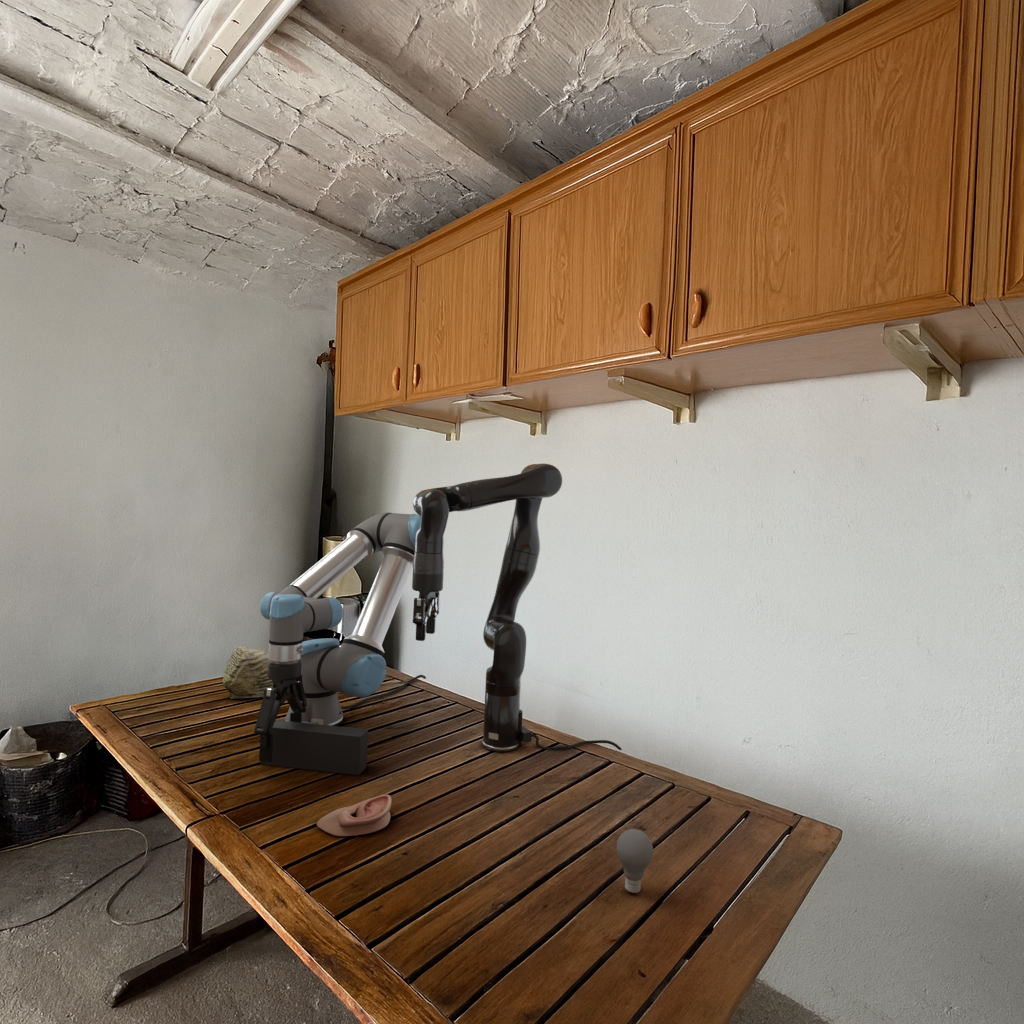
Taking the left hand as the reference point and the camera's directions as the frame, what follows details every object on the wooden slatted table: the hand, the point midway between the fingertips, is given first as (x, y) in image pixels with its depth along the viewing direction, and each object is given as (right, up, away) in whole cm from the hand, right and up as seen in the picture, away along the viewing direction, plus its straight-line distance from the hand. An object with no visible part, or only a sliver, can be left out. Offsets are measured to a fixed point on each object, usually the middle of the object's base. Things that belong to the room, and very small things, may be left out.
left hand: (280, 750), depth 150 cm
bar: (+8, -3, -1) cm, 9 cm away
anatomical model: (+24, -4, -26) cm, 36 cm away
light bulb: (+75, -7, -44) cm, 87 cm away
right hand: (+33, +26, +5) cm, 43 cm away
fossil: (-26, -1, +48) cm, 55 cm away
